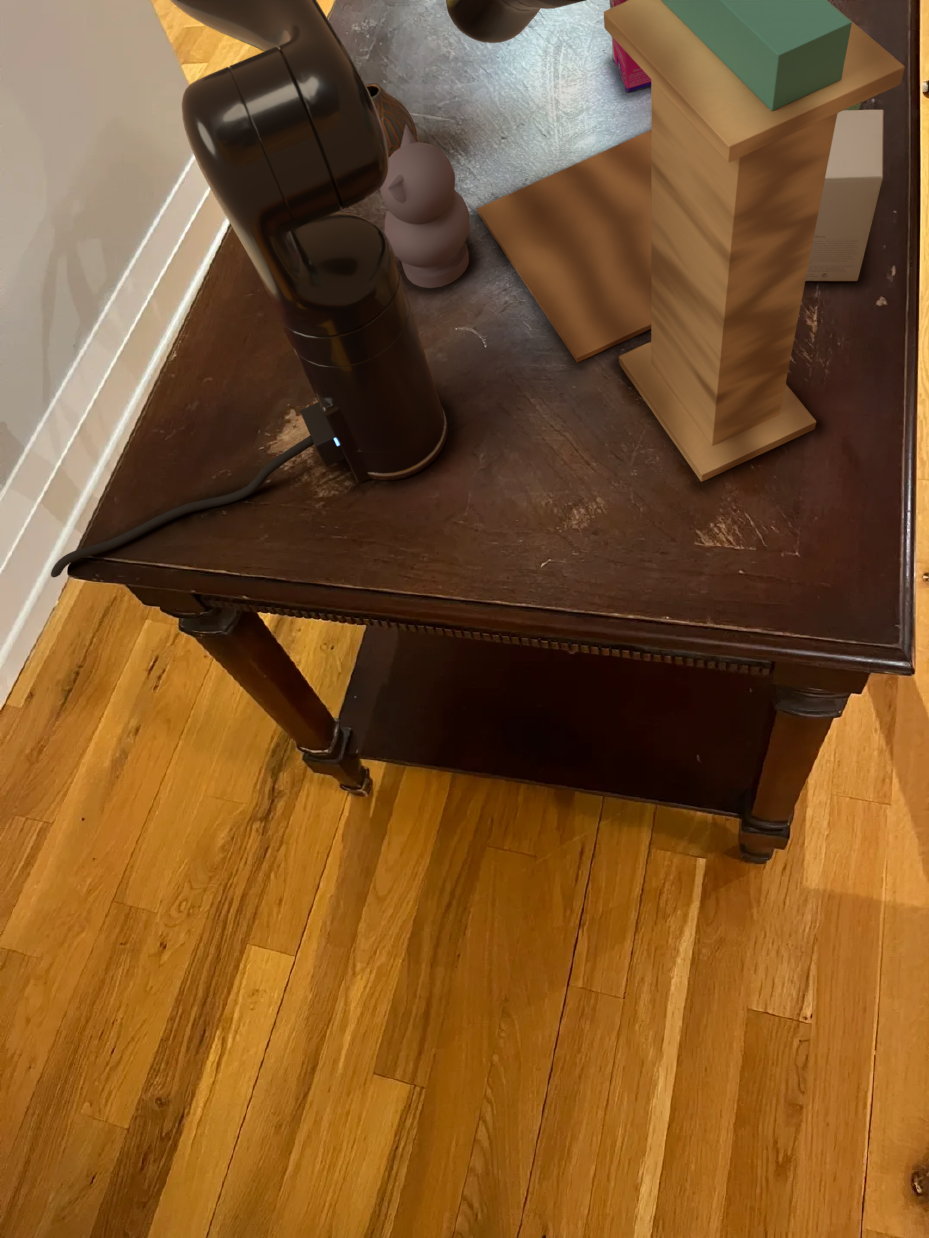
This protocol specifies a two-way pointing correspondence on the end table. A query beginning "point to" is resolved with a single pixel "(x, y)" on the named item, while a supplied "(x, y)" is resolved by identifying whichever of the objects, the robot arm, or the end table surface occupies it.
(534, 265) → the flat wooden board
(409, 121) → the vase
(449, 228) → the cat figurine
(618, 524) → the end table surface
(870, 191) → the small box
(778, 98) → the long green rectangular block
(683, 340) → the wooden pedestal column
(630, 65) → the supplement box
